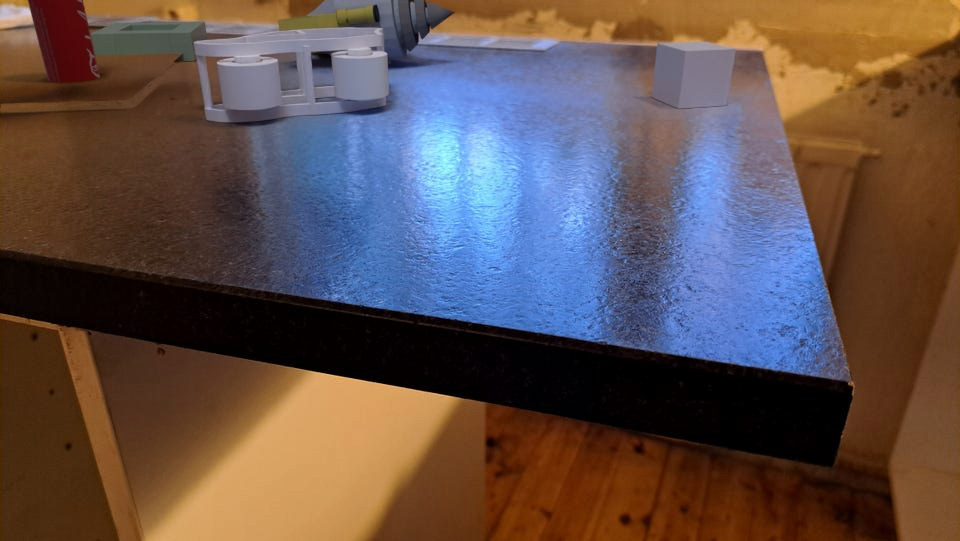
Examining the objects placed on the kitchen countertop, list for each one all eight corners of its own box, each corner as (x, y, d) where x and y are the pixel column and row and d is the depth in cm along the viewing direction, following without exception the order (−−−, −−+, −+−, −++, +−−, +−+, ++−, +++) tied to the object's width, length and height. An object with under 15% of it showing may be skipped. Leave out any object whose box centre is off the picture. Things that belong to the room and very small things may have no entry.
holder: (96, 63, 99) (89, 33, 97) (120, 49, 110) (115, 22, 109) (195, 61, 101) (190, 32, 99) (208, 47, 113) (204, 21, 111)
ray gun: (308, 10, 109) (259, -19, 90) (459, -11, 107) (443, -46, 88) (319, 84, 111) (273, 71, 92) (468, 64, 109) (454, 47, 89)
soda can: (105, 89, 83) (80, -21, 78) (52, 94, 80) (23, -20, 75) (99, 81, 87) (75, -24, 82) (49, 85, 85) (21, -23, 79)
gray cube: (651, 97, 81) (657, 43, 78) (697, 94, 82) (704, 41, 80) (678, 108, 76) (685, 50, 73) (727, 105, 77) (735, 48, 75)
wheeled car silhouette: (212, 131, 66) (198, 50, 63) (199, 107, 75) (187, 34, 72) (412, 111, 74) (410, 38, 71) (380, 91, 83) (376, 25, 80)
